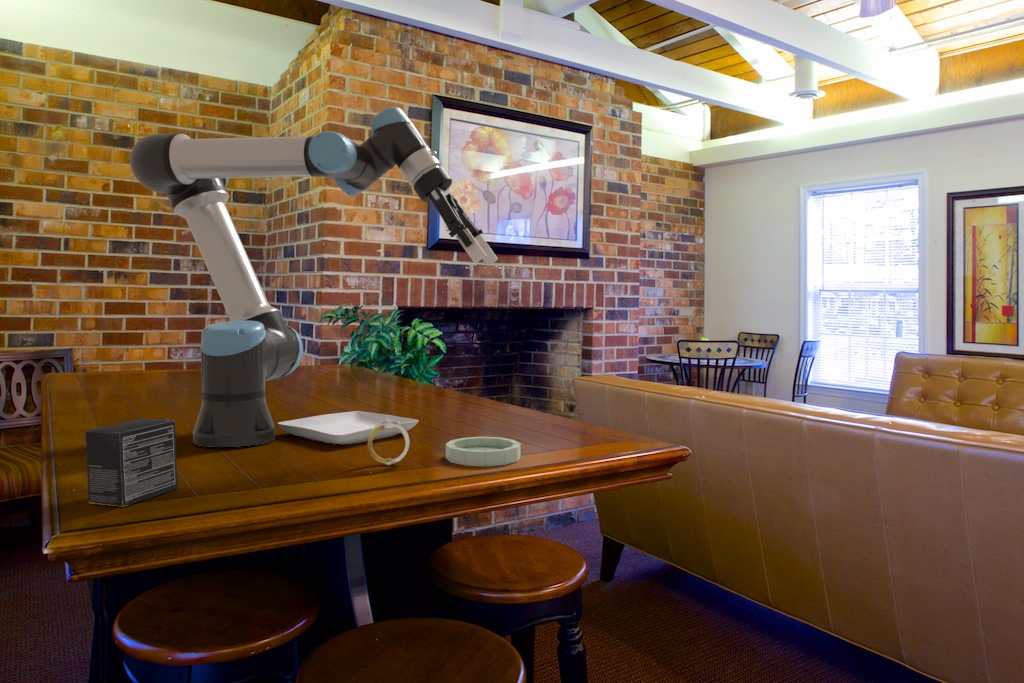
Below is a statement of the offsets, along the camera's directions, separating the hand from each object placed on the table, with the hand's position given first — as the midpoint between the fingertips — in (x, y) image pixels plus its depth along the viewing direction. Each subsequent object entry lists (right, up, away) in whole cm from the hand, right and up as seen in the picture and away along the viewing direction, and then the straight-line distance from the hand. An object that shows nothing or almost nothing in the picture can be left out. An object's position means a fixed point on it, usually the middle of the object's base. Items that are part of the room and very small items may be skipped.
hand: (487, 261), depth 147 cm
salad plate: (-29, -36, +4) cm, 46 cm away
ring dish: (0, -37, -17) cm, 41 cm away
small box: (-49, -39, -43) cm, 76 cm away
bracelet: (-16, -38, -22) cm, 47 cm away
